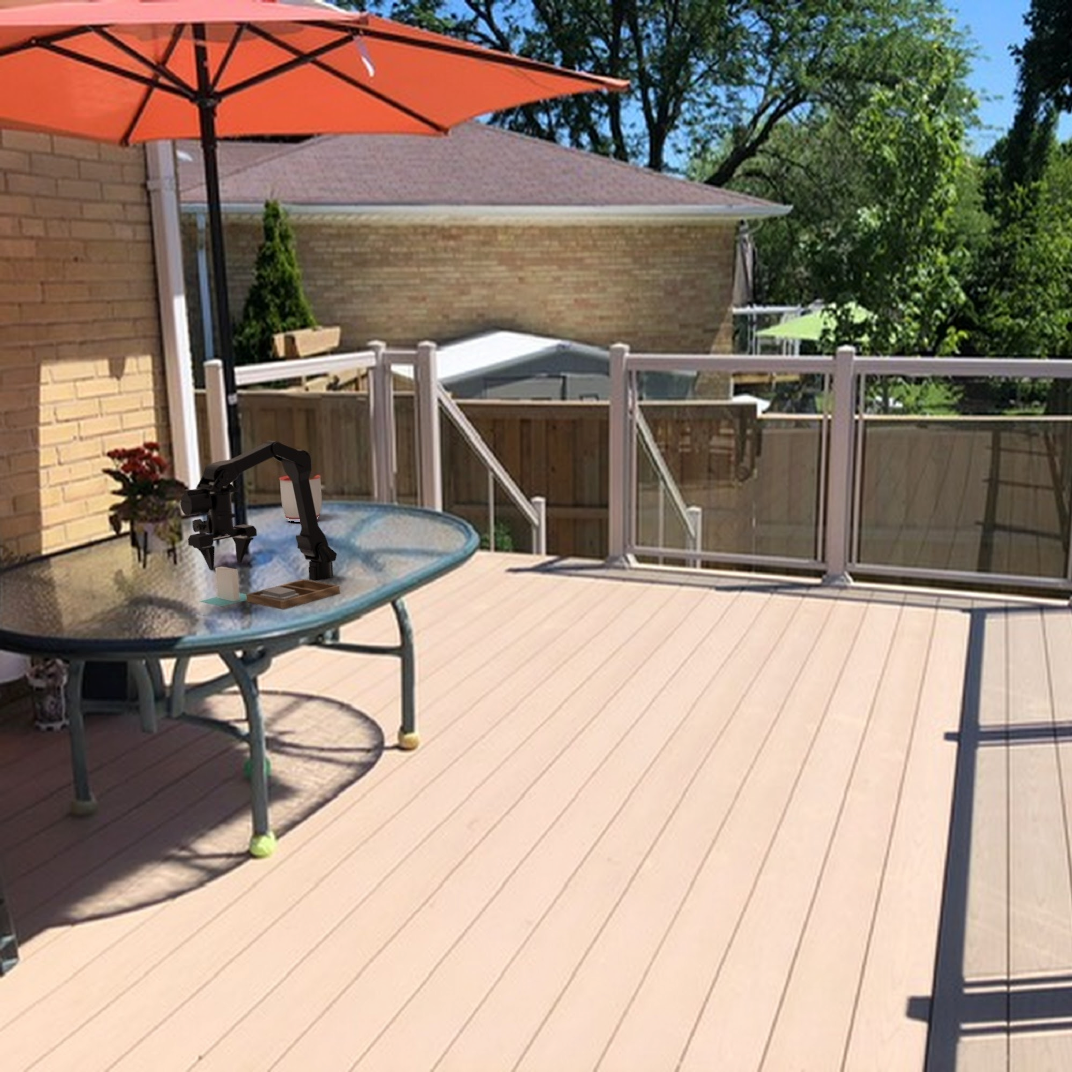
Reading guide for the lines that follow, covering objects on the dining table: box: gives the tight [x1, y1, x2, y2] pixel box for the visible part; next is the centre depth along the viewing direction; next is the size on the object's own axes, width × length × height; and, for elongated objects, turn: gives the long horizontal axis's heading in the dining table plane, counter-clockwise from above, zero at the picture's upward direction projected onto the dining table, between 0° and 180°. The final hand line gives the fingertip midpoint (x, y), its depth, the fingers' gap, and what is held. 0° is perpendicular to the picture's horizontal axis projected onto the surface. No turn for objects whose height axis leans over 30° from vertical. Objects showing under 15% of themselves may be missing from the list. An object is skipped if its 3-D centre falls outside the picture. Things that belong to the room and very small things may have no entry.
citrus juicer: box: [279, 474, 323, 519], centre depth 422 cm, size 16×17×20 cm
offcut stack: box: [260, 585, 299, 600], centre depth 299 cm, size 6×11×3 cm, turn 53°
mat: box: [199, 592, 247, 607], centre depth 304 cm, size 12×10×1 cm
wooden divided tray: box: [245, 579, 341, 610], centre depth 304 cm, size 20×15×3 cm
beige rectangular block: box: [214, 566, 240, 601], centre depth 303 cm, size 2×7×8 cm, turn 52°
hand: (225, 566), depth 301 cm, fingers open, 9 cm apart
